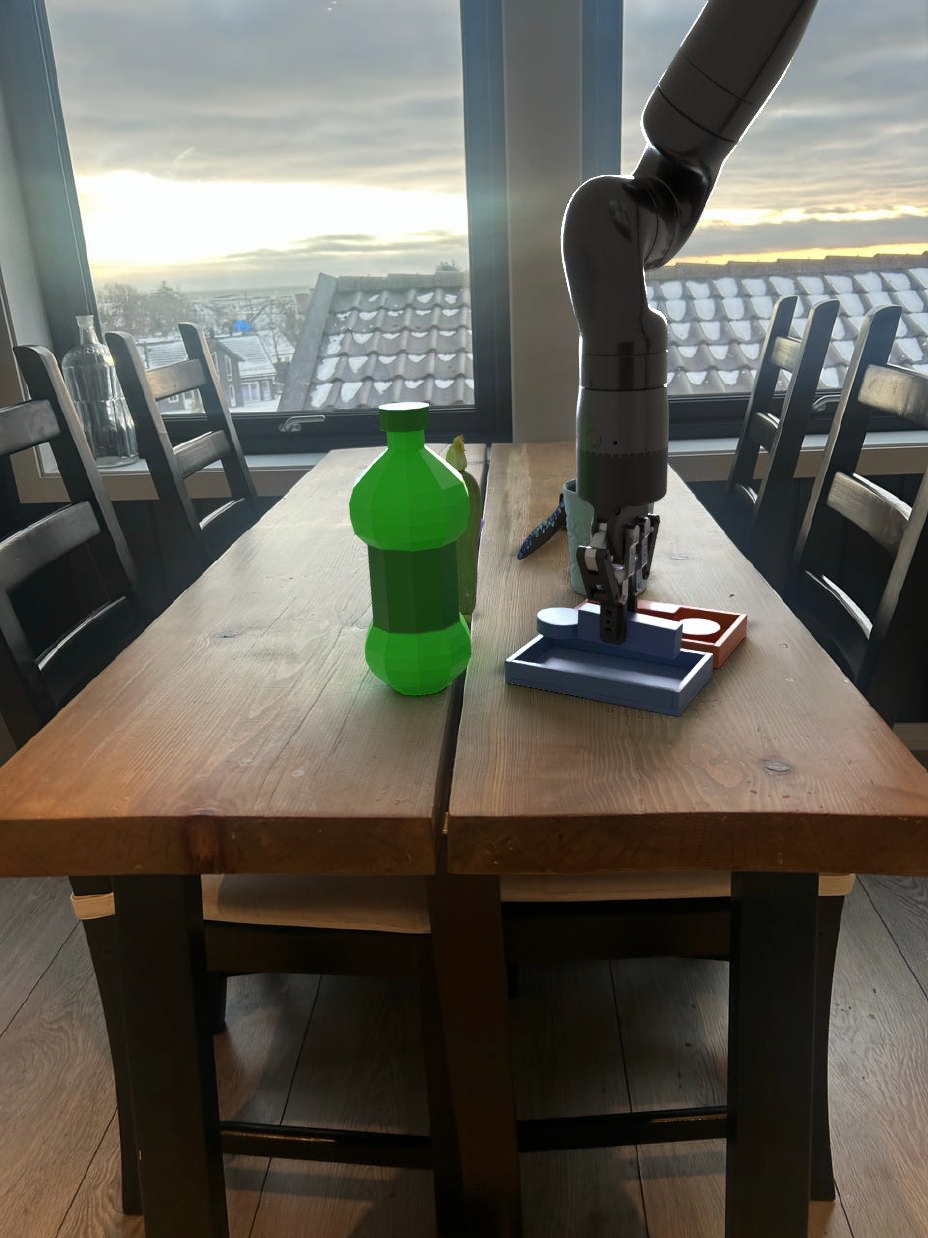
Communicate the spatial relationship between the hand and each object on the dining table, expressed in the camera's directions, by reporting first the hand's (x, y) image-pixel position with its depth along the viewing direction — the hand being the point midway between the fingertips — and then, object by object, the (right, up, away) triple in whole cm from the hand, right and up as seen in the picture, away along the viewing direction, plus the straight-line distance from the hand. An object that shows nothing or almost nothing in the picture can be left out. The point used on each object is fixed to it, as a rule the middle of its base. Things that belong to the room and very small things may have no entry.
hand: (618, 636), depth 88 cm
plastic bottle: (-18, -5, +3) cm, 18 cm away
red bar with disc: (+5, 0, +11) cm, 12 cm away
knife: (-1, +13, +49) cm, 50 cm away
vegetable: (-13, +1, +17) cm, 22 cm away
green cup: (+3, +5, +26) cm, 27 cm away
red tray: (+5, 0, +11) cm, 12 cm away
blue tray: (-1, -4, +2) cm, 4 cm away
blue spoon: (-1, 0, +1) cm, 1 cm away
